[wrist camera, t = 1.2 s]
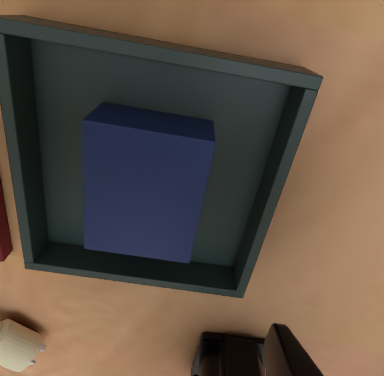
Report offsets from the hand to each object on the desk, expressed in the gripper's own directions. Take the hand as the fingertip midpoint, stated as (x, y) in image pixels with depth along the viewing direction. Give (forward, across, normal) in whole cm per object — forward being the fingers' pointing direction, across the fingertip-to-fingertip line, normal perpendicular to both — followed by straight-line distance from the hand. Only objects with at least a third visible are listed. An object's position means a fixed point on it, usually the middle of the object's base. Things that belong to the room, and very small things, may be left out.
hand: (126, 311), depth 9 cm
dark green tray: (+11, +1, 0) cm, 11 cm away
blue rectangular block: (+10, +1, 0) cm, 10 cm away
